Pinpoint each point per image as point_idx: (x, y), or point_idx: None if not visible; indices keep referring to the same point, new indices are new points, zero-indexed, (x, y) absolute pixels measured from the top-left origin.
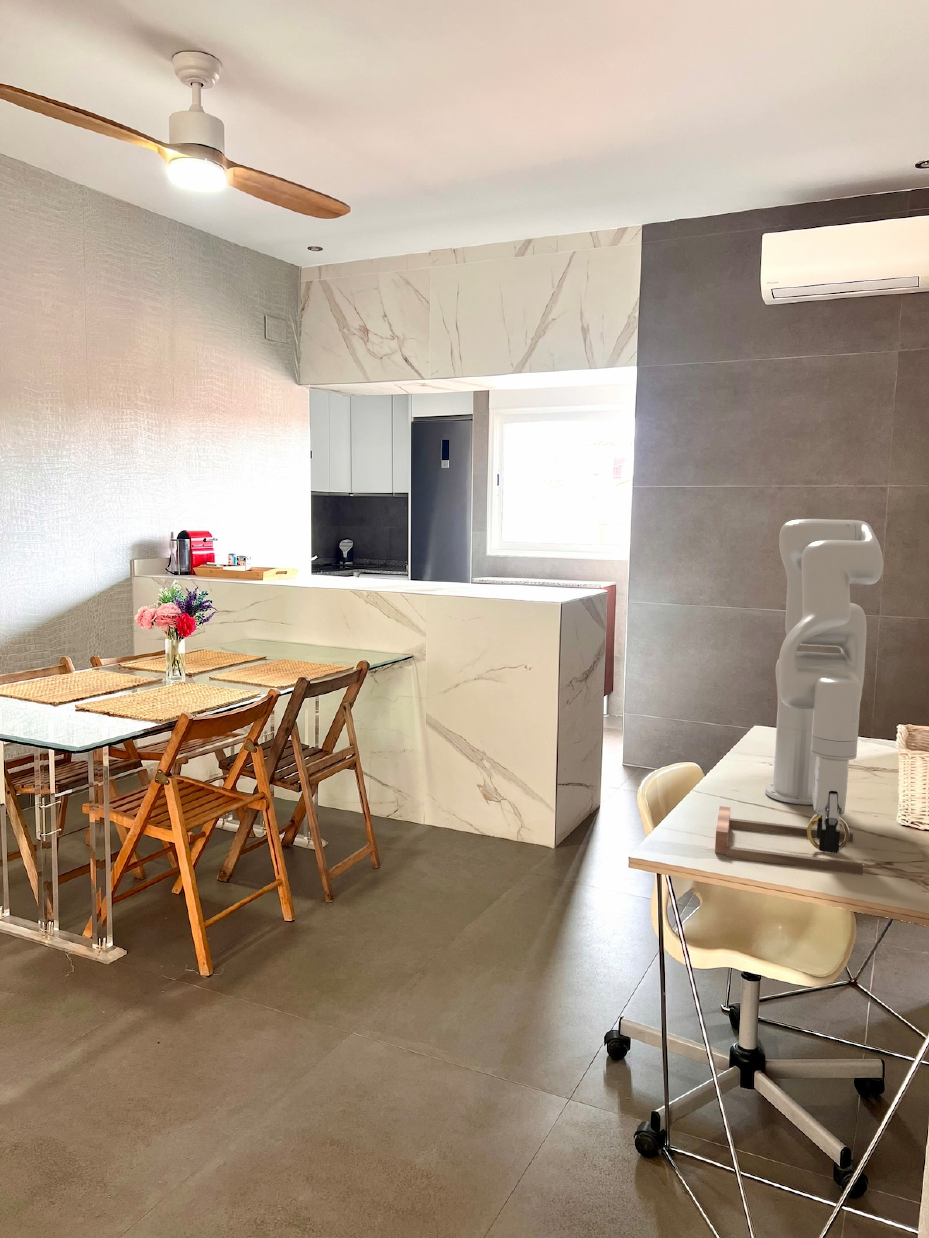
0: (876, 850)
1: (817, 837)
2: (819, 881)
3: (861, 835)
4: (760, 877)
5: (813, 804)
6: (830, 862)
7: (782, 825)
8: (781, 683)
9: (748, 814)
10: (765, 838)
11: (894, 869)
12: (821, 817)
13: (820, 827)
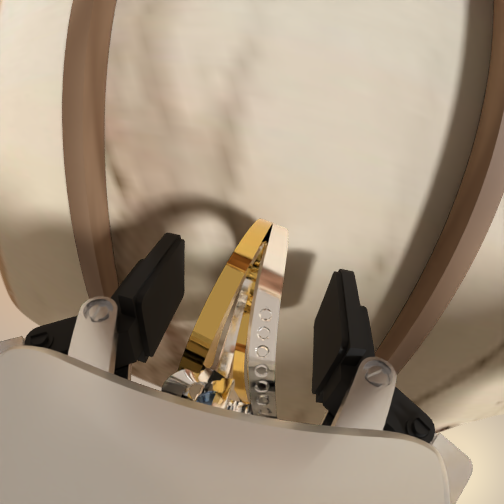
0: (309, 384)
1: (340, 270)
2: (20, 179)
3: (420, 380)
4: (3, 36)
5: (136, 410)
6: (76, 237)
7: (499, 161)
8: None
9: None
10: (406, 40)
11: (177, 370)
12: (181, 360)
13: (333, 314)
